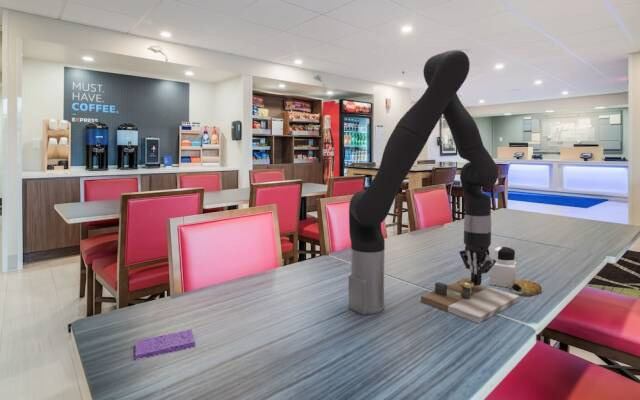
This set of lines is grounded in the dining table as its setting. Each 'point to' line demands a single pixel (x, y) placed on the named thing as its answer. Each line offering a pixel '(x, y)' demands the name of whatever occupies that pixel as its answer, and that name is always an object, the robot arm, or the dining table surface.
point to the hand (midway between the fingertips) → (476, 284)
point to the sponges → (164, 344)
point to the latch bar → (466, 284)
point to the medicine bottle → (503, 267)
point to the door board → (469, 300)
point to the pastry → (525, 287)
